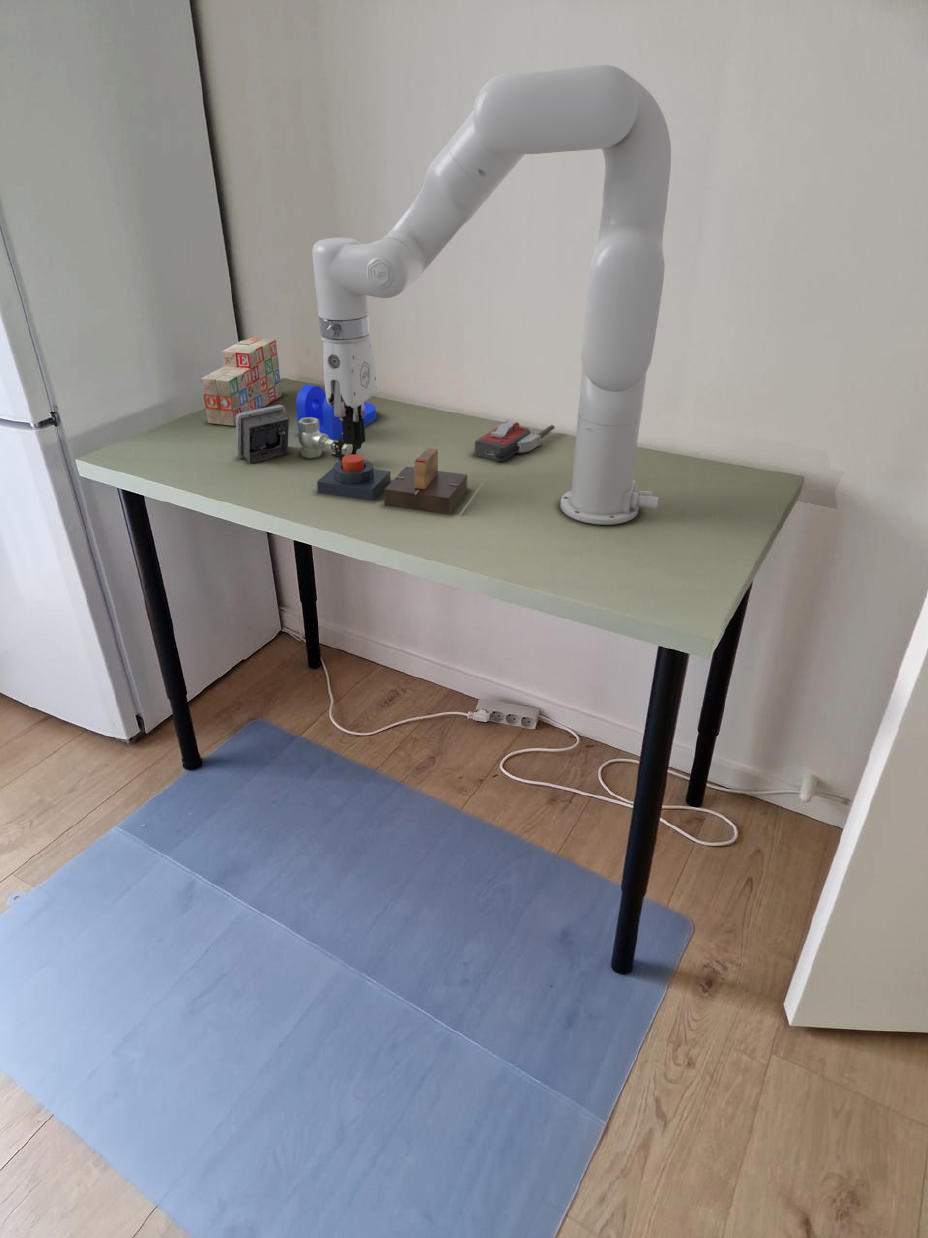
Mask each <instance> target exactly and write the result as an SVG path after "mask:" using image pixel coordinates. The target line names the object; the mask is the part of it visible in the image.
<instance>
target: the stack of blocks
mask: <svg viewBox="0 0 928 1238" xmlns="http://www.w3.org/2000/svg"><path fill="white" fill-rule="evenodd" d="M221 355H222V361H223V363H222V364H223V366H222V367H220V368H218V369H215V370H214V371H212V372H210V373H208V374H207V375H204V376H203V377H201V386H202V392H203V393H202V395H203V396H202V397H203V401H204V407H205V413H206V419H207V424H213V425H215V424H216V425H223V426H232V427H236V415H237V414H238V413H242V412H247V411H252V410H256V409H261V408H265V407H266V406H268V405H269V404H271V403H272V402H274V401H276V400H277V399H279V398H280V397H282V396H283V390H282V382H281V374H280V362H279V355H278V348H277V340H276V339H274V338H273V339H272V338H264V337H263V338H261V337H248V338H246V339H243V340H240V341H237V343H235V344H233V345H230V346H229V347H228V348H225V349H223V350H222V351H221Z"/></svg>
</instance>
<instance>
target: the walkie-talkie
mask: <svg viewBox="0 0 928 1238" xmlns="http://www.w3.org/2000/svg"><path fill="white" fill-rule="evenodd" d="M555 428H556V427H555V425H553V424H551V425H549V426H548V427H546V428H545V429H543V430H542V431H540V432H539V433H532V432H531V430H530V429H529V428H527V427H523V426H520V423H519V422H517V421H511V420H506V421H504V422H503V423H501V424H499V425H498V426H497V427H496V428H494V429H492V430H491V431H489V432H487V433H486V434H484V435H483V436H481V437H479V438H477V439H476V440H474V451H473V453H474V455H475V456H476V457H478V458H483V459H487V460H492V461H497V462H505V461H506V460H507V459H509V458H510V457H513V456H514V455H515V454H517V453H518V454H520V453H528V452H531V451H532V450H533V449H535V448H537V447H539V446H541V440H542V438H544V437H545V436H547V435H548V434H549V433H550V432H552V431H553V430H554V429H555Z"/></svg>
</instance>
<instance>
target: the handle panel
mask: <svg viewBox="0 0 928 1238" xmlns="http://www.w3.org/2000/svg"><path fill="white" fill-rule="evenodd" d="M467 491H468V474H465V473H457V472H450V471H443V470H438V475H437V476H436V477H435V478H434V480H433V481H432V482H431V483H430V484H429V485H428V487H427V488H426V489H418V488H415V476H414V466H405V467H404V468H403V469H402V470H401V471H400V472H399V473H398V474H397V475H396V476H395V477H394V478H393V480H392V481H391V483H390V484H389V485H388V486H387V487H386V488H385V489H384V490H383V492H384V506H385V507H393V508H399V509H407V510H413V511H419V512H420V511H421V512H427V513H433V514H434V513H435V514H441V515H448V516H449V515H450V514H451V513H452V511H453V510H454V509H455V508H456V506H457V505H458V504H459V502H460V501H461V499H463V497H464V496H465V494H466V493H467Z"/></svg>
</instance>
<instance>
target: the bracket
mask: <svg viewBox="0 0 928 1238" xmlns="http://www.w3.org/2000/svg"><path fill="white" fill-rule="evenodd" d="M295 410H296V419H297V423H298V422H299V420H300V419H302V418H307V417H313V418H316V419H318V420H319V427H320V428H319V431H320V433H323V434H327V435H328V436H329V438H330V440H333V441H335V439H339V440H342V439H343V436H342V432H343V429H342V421H341V420H340V417H336V416H334V406H330V405H329V404H328V402H327V398H326V392H325V391H324V389H323V388H322V387H321V386H319V385H315V384H305V385H303V386H302V387H301V388H299V391H298V393H297V396H296V400H295ZM363 419H364V427H366V426H367V425H369V424H371V423H373V422H375V421H376V419H377V407H376V406H375V405H374V403H373V404H372V403H370V402H366V401H365V403H364V417H363ZM297 429H298V433H299V432H300V431H299V426H298V425H297Z"/></svg>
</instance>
